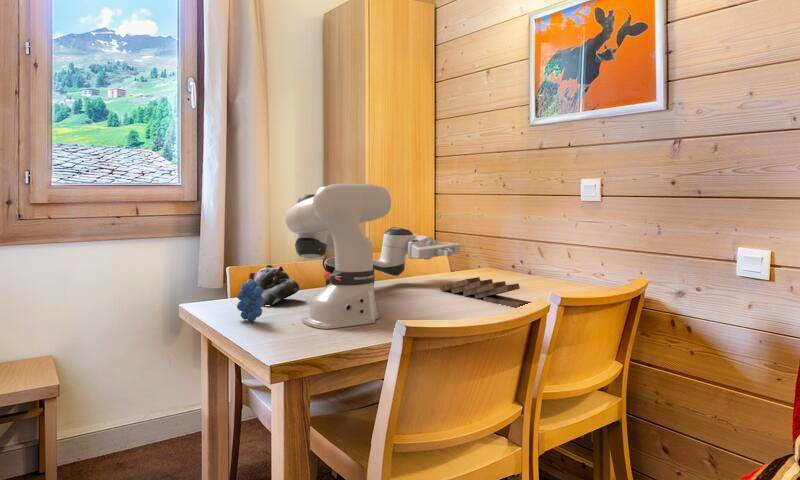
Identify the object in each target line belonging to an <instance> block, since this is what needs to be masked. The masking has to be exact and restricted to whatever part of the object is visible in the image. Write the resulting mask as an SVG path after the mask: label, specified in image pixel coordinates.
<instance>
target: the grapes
mask: <svg viewBox="0 0 800 480" xmlns="http://www.w3.org/2000/svg"><path fill="white" fill-rule="evenodd" d="M262 293H263V289H262V288H261V287H259V286H258V285H257V283H256V282H255V281H250V282H249V283H248V282H247V281H246V282H244V283H243V284H242V285H241V288H240V290H239V291H238V293H237V295H236V297H237V299H238V300H239V302H238V303H237V304H236V308H237V310H238V311H240V317H241V319H243V320H247V321H248V322H249V323H253V322H255V321H256V319H257V318H259V317H261V316H262V315H263V314H262V313H263V308H262V307H264V306H263V305H264V303H265V300H264V298H263V297H262V296H261V295H262Z"/></svg>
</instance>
